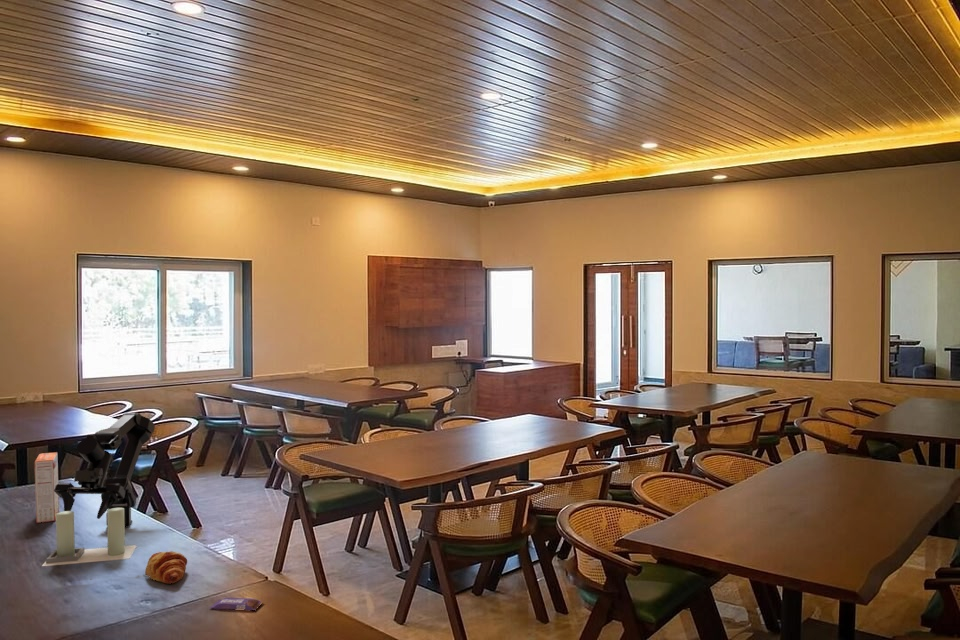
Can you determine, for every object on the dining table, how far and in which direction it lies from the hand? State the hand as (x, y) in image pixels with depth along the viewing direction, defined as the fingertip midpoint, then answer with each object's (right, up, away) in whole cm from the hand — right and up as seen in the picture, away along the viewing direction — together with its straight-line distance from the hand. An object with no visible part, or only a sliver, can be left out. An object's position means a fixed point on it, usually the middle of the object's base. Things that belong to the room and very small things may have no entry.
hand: (81, 518), depth 217 cm
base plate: (+7, -9, -8) cm, 14 cm away
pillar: (0, -8, -9) cm, 13 cm away
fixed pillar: (+13, -8, -6) cm, 16 cm away
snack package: (+59, -11, -41) cm, 73 cm away
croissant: (+34, -10, -20) cm, 41 cm away
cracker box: (-30, -9, +34) cm, 47 cm away
